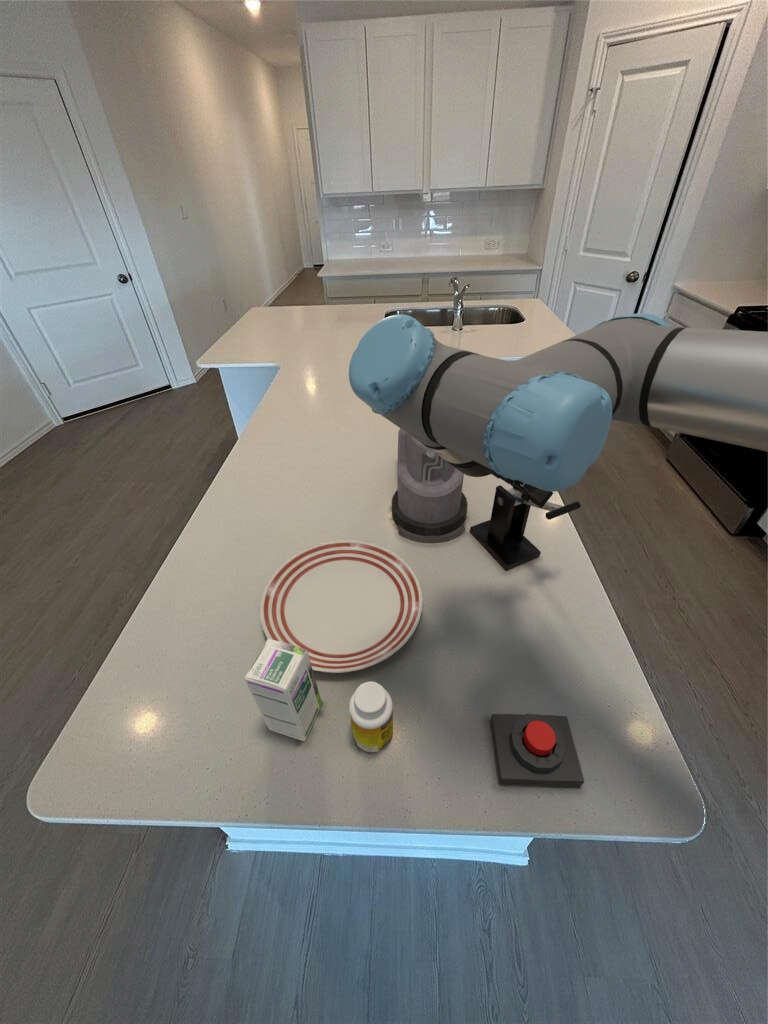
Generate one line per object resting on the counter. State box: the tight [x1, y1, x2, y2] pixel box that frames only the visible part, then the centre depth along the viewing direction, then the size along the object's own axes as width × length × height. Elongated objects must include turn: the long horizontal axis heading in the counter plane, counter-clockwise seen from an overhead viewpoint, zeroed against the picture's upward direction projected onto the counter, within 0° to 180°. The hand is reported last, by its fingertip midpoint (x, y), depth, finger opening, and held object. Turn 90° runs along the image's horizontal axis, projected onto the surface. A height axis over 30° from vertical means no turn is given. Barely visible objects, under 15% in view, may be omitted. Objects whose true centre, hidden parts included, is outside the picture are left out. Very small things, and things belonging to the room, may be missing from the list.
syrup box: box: [243, 638, 323, 743], centre depth 58 cm, size 6×6×14 cm
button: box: [523, 721, 556, 756], centre depth 55 cm, size 4×4×2 cm
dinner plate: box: [259, 539, 424, 674], centre depth 75 cm, size 28×27×3 cm
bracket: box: [469, 484, 542, 572], centre depth 83 cm, size 12×8×14 cm, turn 26°
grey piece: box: [391, 428, 468, 544], centre depth 91 cm, size 30×16×24 cm, turn 0°
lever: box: [506, 487, 581, 520], centre depth 74 cm, size 14×6×2 cm, turn 26°
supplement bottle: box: [348, 681, 394, 753], centre depth 57 cm, size 6×6×10 cm
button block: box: [489, 713, 585, 789], centre depth 57 cm, size 10×8×4 cm
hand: (543, 498), depth 63 cm, fingers closed
